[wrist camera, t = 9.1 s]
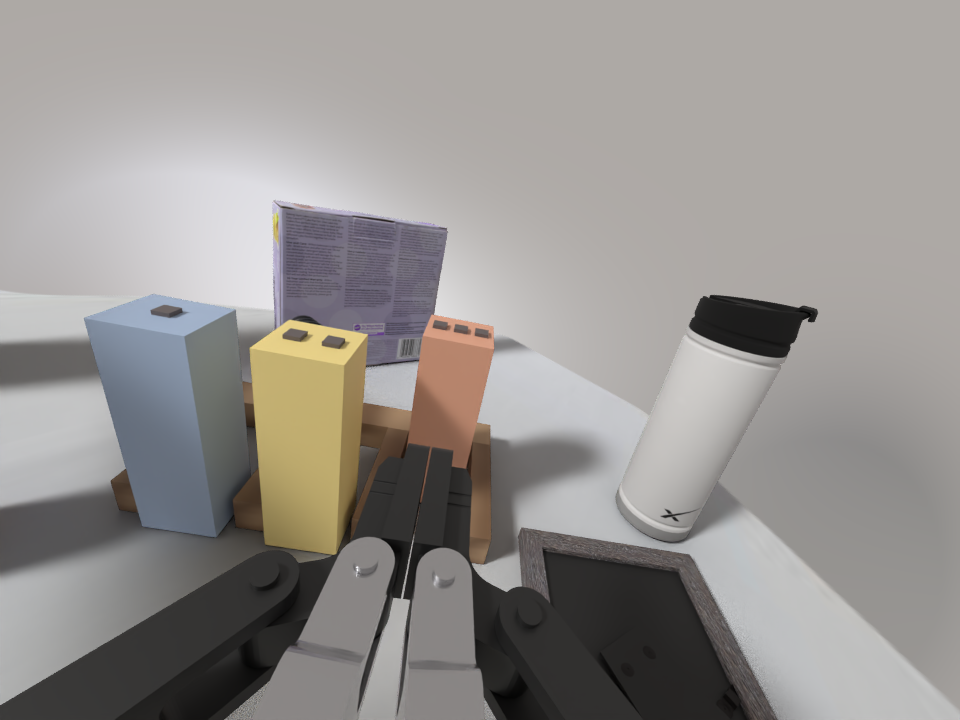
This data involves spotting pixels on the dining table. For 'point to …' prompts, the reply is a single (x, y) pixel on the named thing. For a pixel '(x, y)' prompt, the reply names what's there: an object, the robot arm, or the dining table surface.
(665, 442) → the travel mug
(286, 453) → the yellow block
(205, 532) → the blue block
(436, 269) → the cake pan box
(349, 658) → the robot arm
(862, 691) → the dining table surface
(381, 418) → the dock
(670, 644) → the picture frame
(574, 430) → the dining table surface
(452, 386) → the peach rectangular block
